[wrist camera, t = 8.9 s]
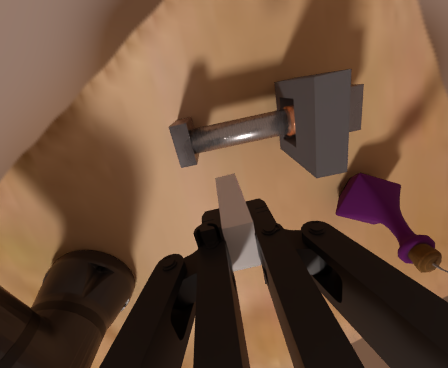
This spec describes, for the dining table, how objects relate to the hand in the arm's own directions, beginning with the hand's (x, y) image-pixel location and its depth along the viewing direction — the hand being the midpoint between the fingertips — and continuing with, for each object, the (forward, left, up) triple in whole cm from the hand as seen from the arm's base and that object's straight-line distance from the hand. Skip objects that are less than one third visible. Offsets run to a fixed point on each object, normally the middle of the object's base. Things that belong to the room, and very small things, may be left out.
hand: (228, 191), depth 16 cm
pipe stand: (+6, +2, -17) cm, 18 cm away
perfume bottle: (+21, -13, -17) cm, 30 cm away
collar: (+10, +2, -17) cm, 19 cm away
